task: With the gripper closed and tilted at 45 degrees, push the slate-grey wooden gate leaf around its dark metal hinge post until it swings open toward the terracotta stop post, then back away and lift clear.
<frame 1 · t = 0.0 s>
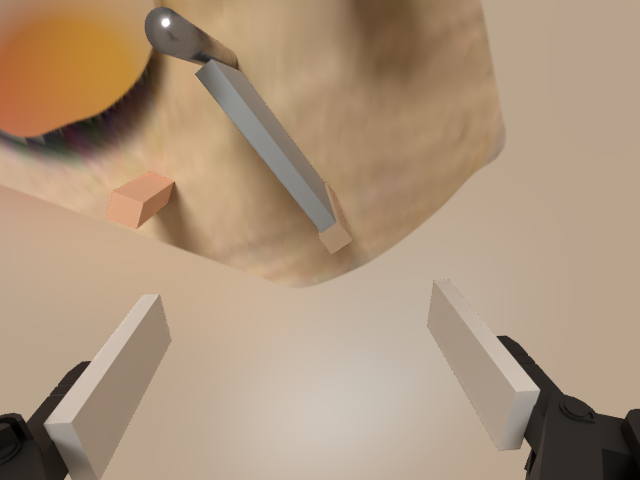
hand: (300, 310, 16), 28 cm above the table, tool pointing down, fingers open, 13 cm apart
gate leaf: (283, 152, 32), point 9 cm above the table, hinge at 0.0°
stop post: (159, 187, 41), on the table
gate post: (225, 60, 36), on the table
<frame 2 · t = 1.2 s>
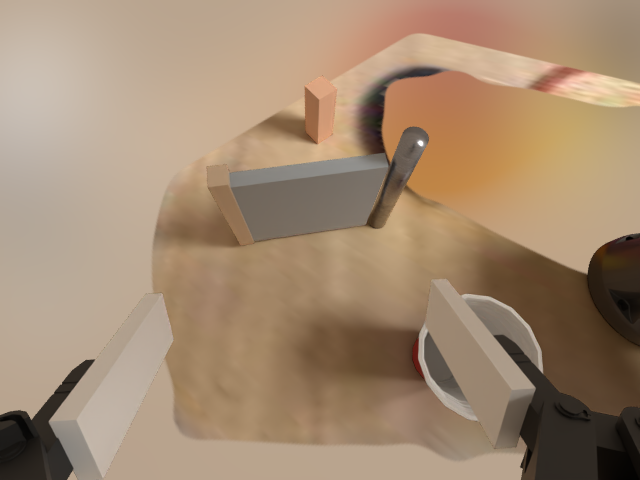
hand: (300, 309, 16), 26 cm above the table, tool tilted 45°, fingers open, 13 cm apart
gate leaf: (301, 202, 37), point 9 cm above the table, hinge at 0.0°
plastic cup: (433, 358, 40), on the table
stop post: (318, 133, 51), on the table
gate post: (377, 220, 46), on the table
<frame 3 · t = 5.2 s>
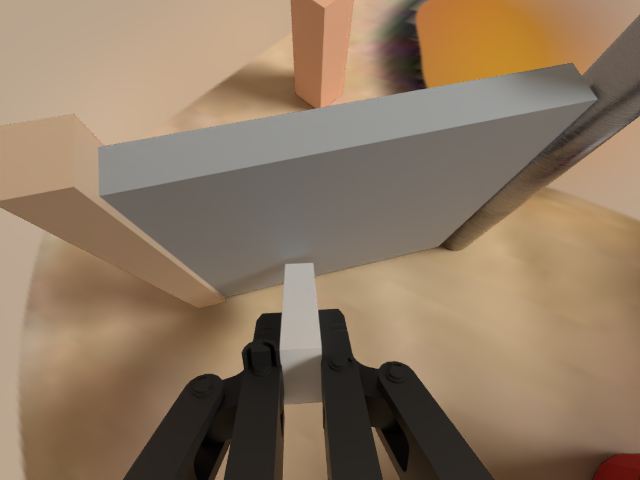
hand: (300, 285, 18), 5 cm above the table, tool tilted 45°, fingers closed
gate leaf: (324, 218, 16), point 8 cm above the table, hinge at 3.7°, touching gripper
stop post: (319, 93, 30), on the table
gate post: (453, 235, 25), on the table
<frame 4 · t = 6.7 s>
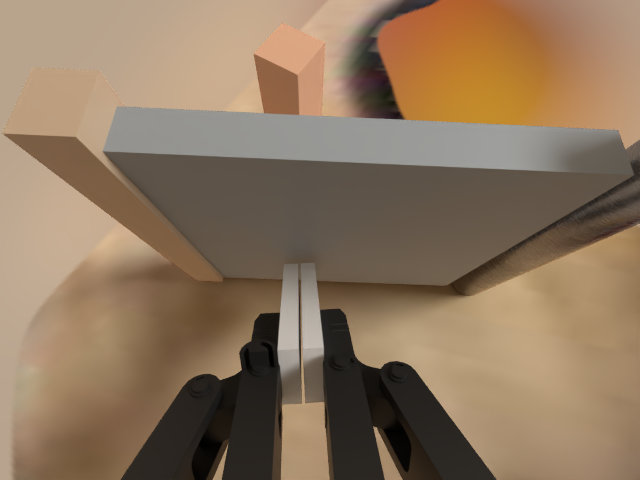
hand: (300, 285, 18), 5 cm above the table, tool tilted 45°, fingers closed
gate leaf: (328, 226, 16), point 9 cm above the table, hinge at 30.8°, touching gripper
stop post: (295, 145, 28), on the table
gate post: (466, 279, 24), on the table
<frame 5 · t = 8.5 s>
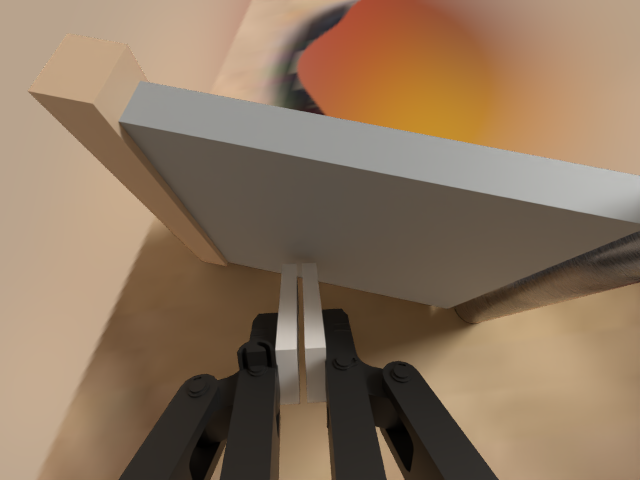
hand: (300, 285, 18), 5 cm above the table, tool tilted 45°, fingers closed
gate leaf: (333, 229, 16), point 9 cm above the table, hinge at 60.1°, touching gripper
gate post: (471, 305, 23), on the table
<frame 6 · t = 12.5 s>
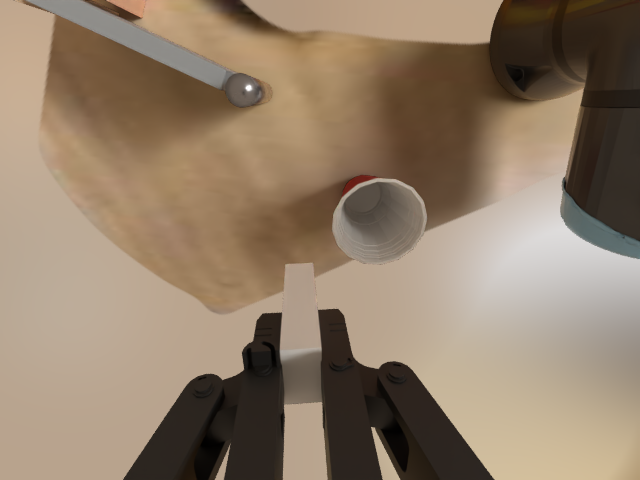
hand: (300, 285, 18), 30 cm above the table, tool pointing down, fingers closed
gate leaf: (151, 42, 32), point 9 cm above the table, hinge at 60.1°
plastic cup: (360, 195, 48), on the table
gate post: (262, 92, 42), on the table
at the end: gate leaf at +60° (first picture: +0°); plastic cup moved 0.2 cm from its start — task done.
